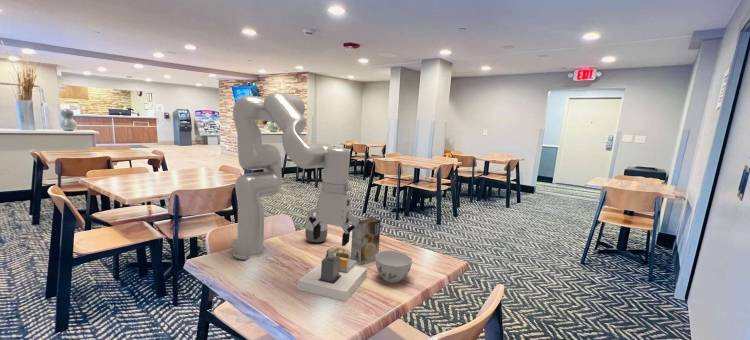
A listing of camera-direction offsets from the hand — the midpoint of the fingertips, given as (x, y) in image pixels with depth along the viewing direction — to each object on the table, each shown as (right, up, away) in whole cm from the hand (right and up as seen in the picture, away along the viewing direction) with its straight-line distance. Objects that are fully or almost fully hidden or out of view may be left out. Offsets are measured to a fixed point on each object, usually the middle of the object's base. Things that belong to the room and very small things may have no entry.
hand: (330, 241), depth 102 cm
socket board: (0, -14, +4) cm, 15 cm away
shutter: (+3, -10, +10) cm, 15 cm away
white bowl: (+20, -15, +10) cm, 28 cm away
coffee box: (+10, -13, +24) cm, 29 cm away
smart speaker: (-12, -9, +42) cm, 44 cm away
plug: (-1, -14, +1) cm, 15 cm away
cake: (0, -12, +23) cm, 26 cm away
